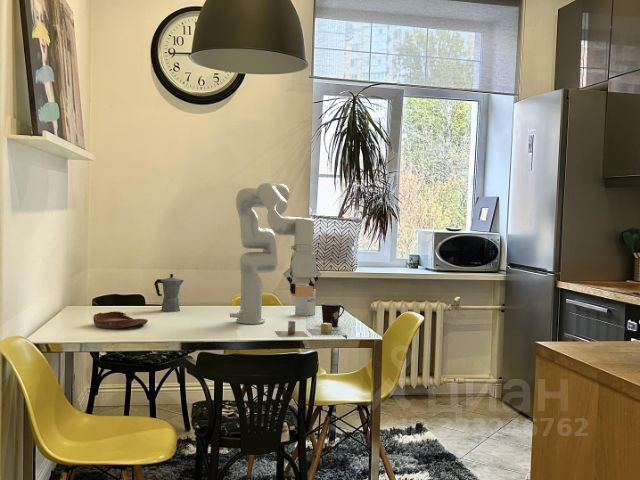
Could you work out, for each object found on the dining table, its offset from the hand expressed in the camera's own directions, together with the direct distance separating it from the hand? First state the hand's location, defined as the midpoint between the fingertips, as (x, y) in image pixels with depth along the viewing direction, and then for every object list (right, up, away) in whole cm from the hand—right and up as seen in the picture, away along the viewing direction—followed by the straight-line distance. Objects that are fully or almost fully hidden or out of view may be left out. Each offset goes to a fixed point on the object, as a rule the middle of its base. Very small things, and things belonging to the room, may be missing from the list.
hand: (301, 293), depth 267 cm
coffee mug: (+13, -17, +30) cm, 37 cm away
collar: (0, -1, 0) cm, 1 cm away
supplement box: (0, -16, +62) cm, 64 cm away
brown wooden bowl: (-76, -15, +10) cm, 78 cm away
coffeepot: (-67, -13, +58) cm, 89 cm away
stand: (-4, -18, -1) cm, 18 cm away
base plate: (+10, -18, +6) cm, 21 cm away
